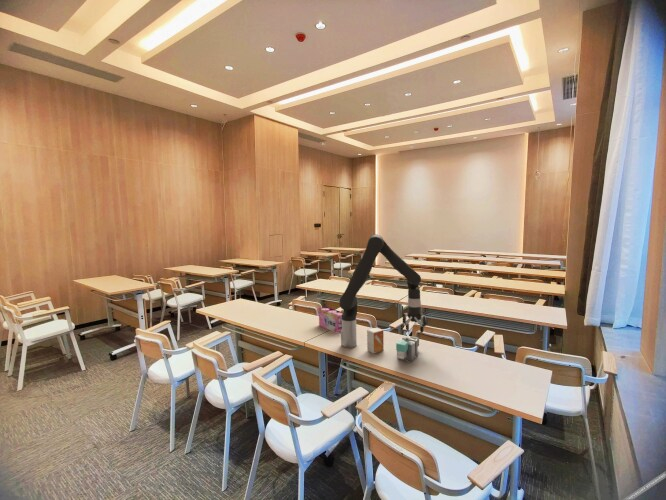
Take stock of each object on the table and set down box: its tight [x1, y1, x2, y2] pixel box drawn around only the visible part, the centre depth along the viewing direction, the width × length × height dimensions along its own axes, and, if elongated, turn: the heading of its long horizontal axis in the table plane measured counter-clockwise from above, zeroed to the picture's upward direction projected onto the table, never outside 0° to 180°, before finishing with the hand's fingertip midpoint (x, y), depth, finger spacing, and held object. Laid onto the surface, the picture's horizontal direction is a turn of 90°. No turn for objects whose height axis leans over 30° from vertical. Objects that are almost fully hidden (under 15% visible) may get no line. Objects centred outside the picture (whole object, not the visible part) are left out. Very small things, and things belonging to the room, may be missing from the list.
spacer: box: [395, 340, 408, 352], centre depth 171 cm, size 5×5×4 cm
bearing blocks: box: [396, 336, 419, 363], centre depth 178 cm, size 9×10×10 cm
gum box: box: [318, 306, 344, 334], centre depth 231 cm, size 24×8×14 cm, turn 36°
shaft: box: [396, 335, 420, 360], centre depth 179 cm, size 5×24×5 cm, turn 146°
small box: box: [366, 327, 385, 354], centre depth 188 cm, size 8×6×13 cm
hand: (414, 331), depth 187 cm, fingers open, 8 cm apart
